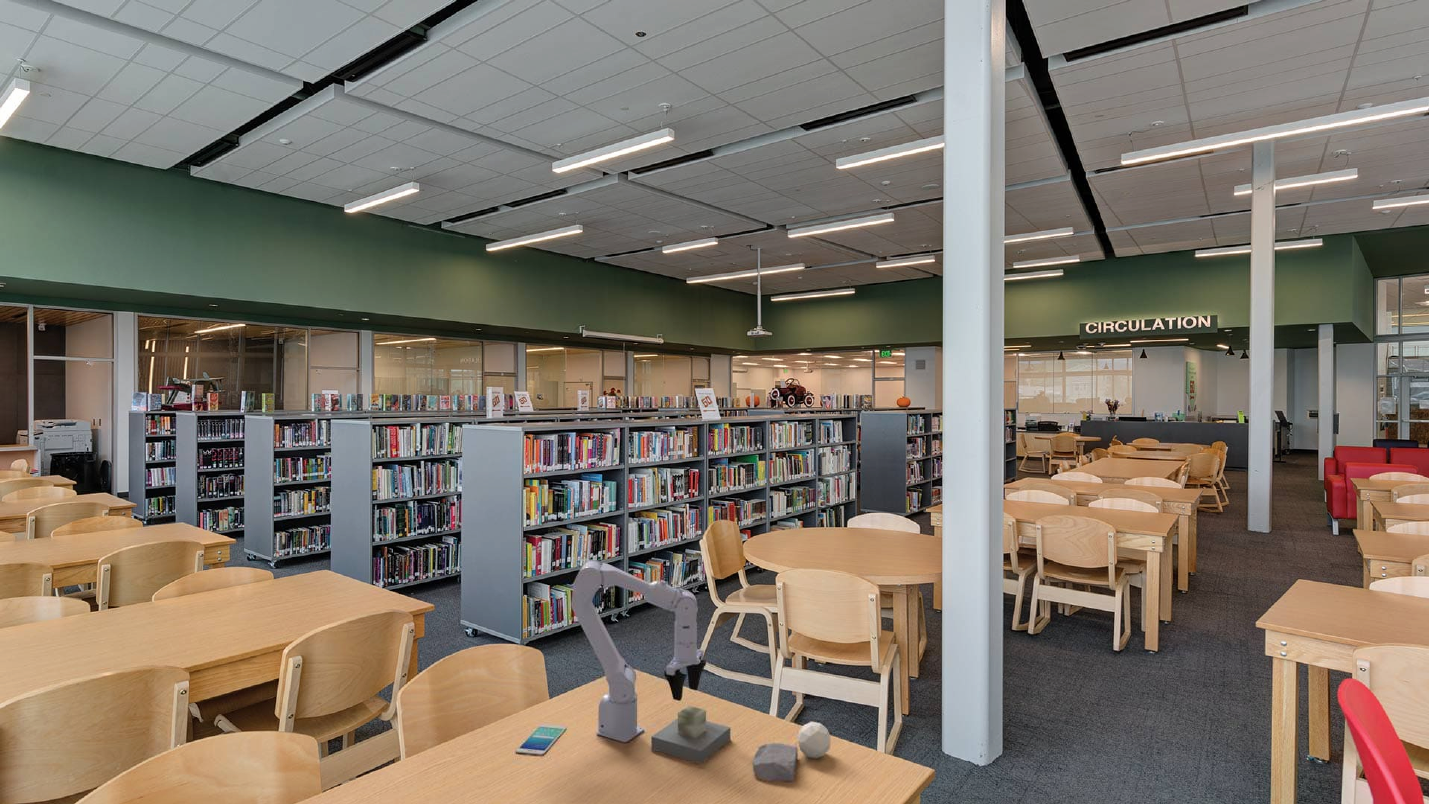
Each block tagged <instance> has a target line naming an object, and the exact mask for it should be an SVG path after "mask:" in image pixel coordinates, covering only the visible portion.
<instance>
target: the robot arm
mask: <svg viewBox="0 0 1429 804" xmlns="http://www.w3.org/2000/svg"><path fill="white" fill-rule="evenodd" d="M601 585H603V586H602V588H603V589H607V588H612V587H614V586H617V587H619V588H622V589H625V590H629V591H630V592H633V593H636V594H640V595H642V596H644V597H645V599H646V602H647V603H649V604H651V605H654V606H656V607H658V608H661V609H664V610H667V611H669V612H674V614H675V621H674V644H673V645H674V647H673V648H674V650H673V651H674V654H673V659H672V660H671V661H670V663H669V664H668V665H666V666H665V667H666V668H665V669H666V670H664V672H663V675H664V677H665V679H666V681H667V682H668V685H669V688H670V691H671V695H672V700H674V701H678V702H681V701H682V699H683V690H684V684H685V680H686V678H687V681H688V688H689V690H694V691H697V690H698V688H699V683H700V680H701V676H702V673H703V671H704V668H705V667H706V665H707V661H706V660H705V659H704V654H705V653H704V651H705V650H704V649H698V646H697V645H698V642H697V641H698V639H697V638H698V623H697V614H698V610H699V607H698V603H697V597H696V596H695V595H694V593H693V592H691V591H690V590H688V589H683V588H680V587H679V588H676V587H673V586H671V585H669V584H667V581H665V580H664V579H661V580H660V581H659V580H655V581H651V582H648V581H646V580H643V579H642V578H639V577H636V576H635V575H634V574H630V573H628V572H626V571H624V570H622V569H620V568H618V567H615V566H613V565H611V564H608V563H607V562H603V563H602V562H601V561H599V560H597V559H590V560H587V561H585V562H584V563H583V564H582V565H581V567H580V570H579V571H578V573H577V575H576V577H575V579H574V581H573V584H572V587H573V588H572V596H571V605H570V606H571V609H572V611H573V613H574V614H575V616H576V617H575V618H577V621H578V623H579V624H580V626H581V628H582V630H583V632H584V634H585V636H586V637H587V640H588V642H589V644H590V645H591V648H592V649H593V652H594V653H595V655H596V656H597V659H598V660H599V662H600V664H601V666H602V669H603V671H604V675H605V680H606V682H607V684H608V693H605V694H604V695H603V696H602V698H601V699H600V701H599V704H598V717H597V718H598V727H597V728H598V730H597V731H596V732H595V733H596V734H597V735H599V736H603V737H606V738H608V739H612V740H616V741H619V742H622V743H627V742H629V741H631V740H632V739H634V738H635V737H636V736H639V734H642V733H643V732H645V728H644V727H642V726H641V727H640V726H638V694H637V693H636V688H635V687H636V686H635V685H636V682H637V681H636V680H637V674H636V671H635V670H634V669H633V667H632V666H630V665H628V663H627V662H626V660H625V658H623V657H622V656H621V655H620V653H619V651H618V649H617V647H616V646H615V645H616V644H615V643H614V641H613V640H612V637H611V636H610V633H609V632H608V630H607V628H606V626H605V624H604V622H603V620H602V618H601V617H600V615H599V613H598V611H597V609H596V606H595V605H594V603H593V599H594V597H595V594H596V593H597V591H599V589H600V587H601ZM685 667H686V672H687V673H682V671H681V670H682V669H684V668H685Z"/></svg>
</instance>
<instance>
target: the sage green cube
mask: <svg viewBox="0 0 1429 804" xmlns="http://www.w3.org/2000/svg"><path fill="white" fill-rule="evenodd" d="M706 710H707V709H703V708H699V707H697V706H696V707H695V706H693V705H688V706H686V707H685V708H683V709H681V710H680V711H679V712H677V719H678V734H681V735H684V736H688V737H691V738H697V737H698V736H699V735H701V734H702V733H703V732H705V731H706V721H707V711H706Z"/></svg>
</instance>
